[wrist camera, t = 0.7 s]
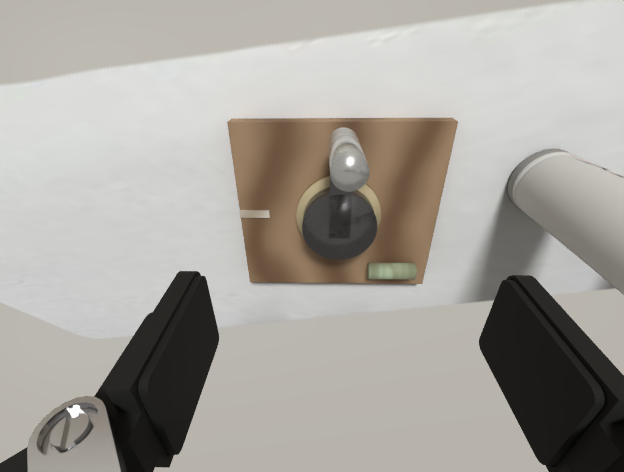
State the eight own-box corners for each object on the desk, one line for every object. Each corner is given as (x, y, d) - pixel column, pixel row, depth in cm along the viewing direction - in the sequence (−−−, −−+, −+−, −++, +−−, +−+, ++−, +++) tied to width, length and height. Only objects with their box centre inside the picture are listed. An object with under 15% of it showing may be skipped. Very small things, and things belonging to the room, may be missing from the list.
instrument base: (452, 117, 28) (466, 126, 26) (418, 275, 38) (426, 294, 35) (231, 118, 29) (221, 126, 26) (252, 274, 38) (247, 292, 36)
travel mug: (521, 221, 34) (728, 403, 17) (496, 175, 31) (708, 334, 14) (584, 186, 31) (896, 355, 14) (562, 134, 29) (910, 263, 12)
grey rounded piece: (384, 121, 26) (410, 154, 19) (371, 248, 33) (386, 311, 25) (300, 122, 26) (291, 154, 19) (303, 248, 33) (298, 310, 25)
